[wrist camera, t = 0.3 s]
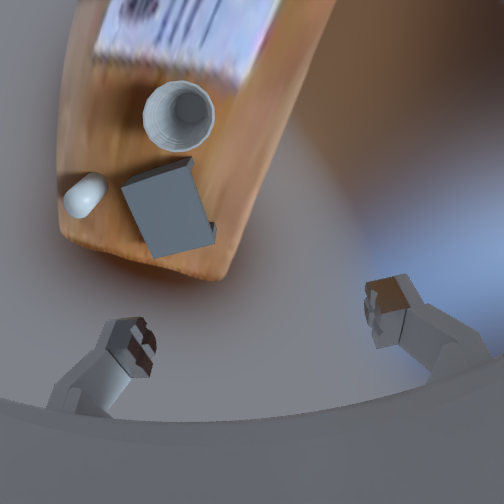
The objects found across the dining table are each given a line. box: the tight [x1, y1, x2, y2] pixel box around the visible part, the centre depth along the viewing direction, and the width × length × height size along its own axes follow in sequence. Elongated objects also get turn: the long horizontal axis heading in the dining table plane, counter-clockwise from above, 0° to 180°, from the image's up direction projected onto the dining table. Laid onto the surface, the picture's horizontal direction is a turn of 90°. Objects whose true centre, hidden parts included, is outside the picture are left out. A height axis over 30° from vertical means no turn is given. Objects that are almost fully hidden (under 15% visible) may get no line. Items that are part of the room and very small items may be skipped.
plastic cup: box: [143, 81, 215, 152], centre depth 44 cm, size 11×11×12 cm
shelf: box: [121, 156, 217, 259], centre depth 57 cm, size 16×13×6 cm
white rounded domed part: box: [63, 172, 108, 218], centre depth 52 cm, size 6×6×9 cm
